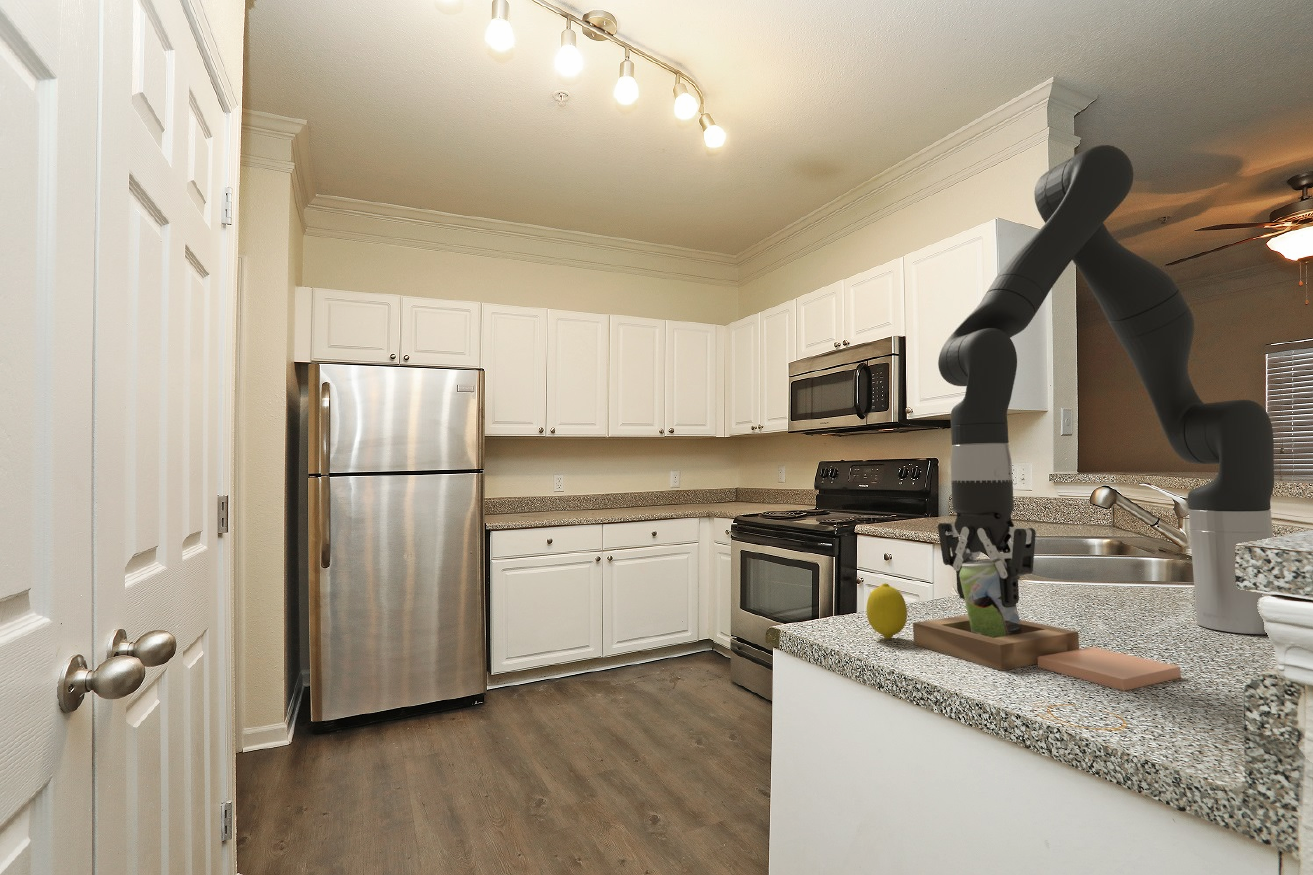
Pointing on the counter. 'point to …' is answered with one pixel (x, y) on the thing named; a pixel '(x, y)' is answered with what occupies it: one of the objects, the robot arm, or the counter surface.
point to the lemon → (886, 610)
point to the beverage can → (987, 600)
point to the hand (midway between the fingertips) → (986, 601)
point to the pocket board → (994, 642)
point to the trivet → (1109, 668)
